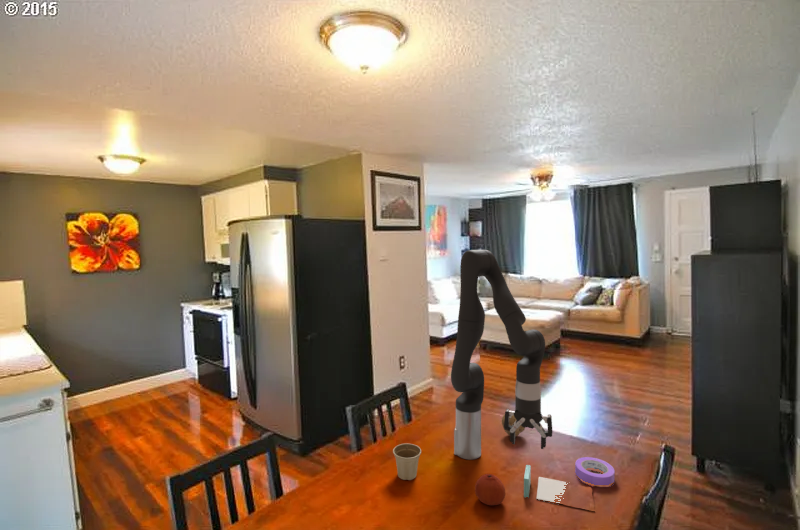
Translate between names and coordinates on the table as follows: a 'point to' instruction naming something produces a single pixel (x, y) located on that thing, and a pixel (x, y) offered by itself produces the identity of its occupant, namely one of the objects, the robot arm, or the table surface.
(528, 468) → the tile
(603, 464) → the masking tape
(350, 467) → the table surface
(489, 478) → the fruit
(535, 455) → the table surface
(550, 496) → the mat
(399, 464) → the flower pot
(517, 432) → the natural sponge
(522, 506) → the table surface
